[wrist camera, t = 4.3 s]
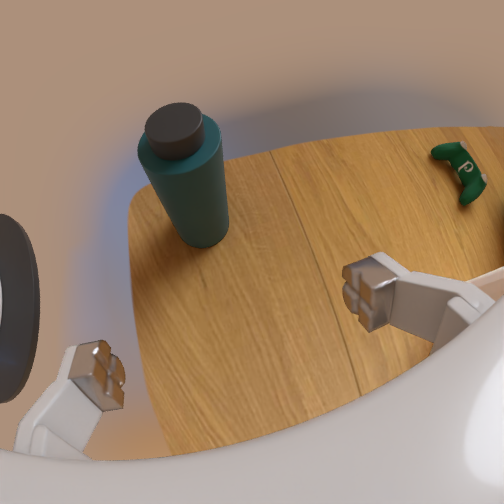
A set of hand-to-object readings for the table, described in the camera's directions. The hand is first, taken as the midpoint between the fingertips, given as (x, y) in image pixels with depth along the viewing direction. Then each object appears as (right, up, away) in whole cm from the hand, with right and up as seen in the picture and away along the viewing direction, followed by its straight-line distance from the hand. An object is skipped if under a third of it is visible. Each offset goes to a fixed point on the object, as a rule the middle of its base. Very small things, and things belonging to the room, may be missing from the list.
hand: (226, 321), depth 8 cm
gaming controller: (+30, +13, +22) cm, 39 cm away
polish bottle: (-4, +5, +17) cm, 18 cm away
